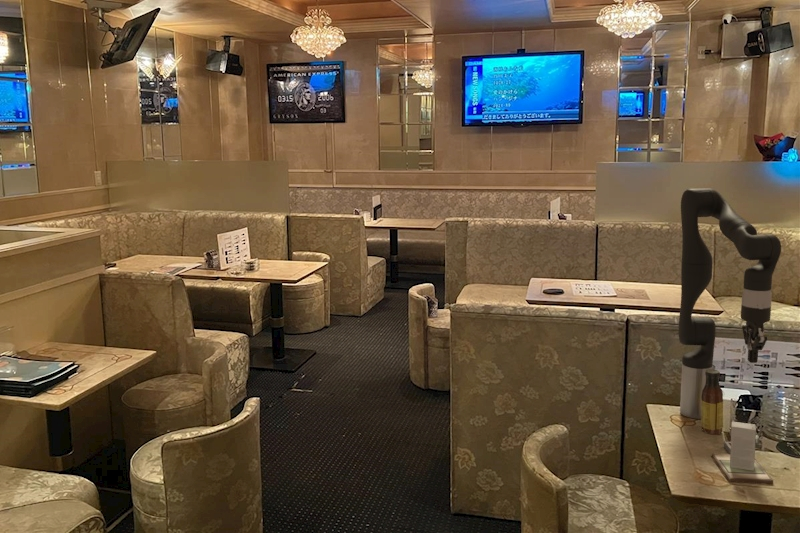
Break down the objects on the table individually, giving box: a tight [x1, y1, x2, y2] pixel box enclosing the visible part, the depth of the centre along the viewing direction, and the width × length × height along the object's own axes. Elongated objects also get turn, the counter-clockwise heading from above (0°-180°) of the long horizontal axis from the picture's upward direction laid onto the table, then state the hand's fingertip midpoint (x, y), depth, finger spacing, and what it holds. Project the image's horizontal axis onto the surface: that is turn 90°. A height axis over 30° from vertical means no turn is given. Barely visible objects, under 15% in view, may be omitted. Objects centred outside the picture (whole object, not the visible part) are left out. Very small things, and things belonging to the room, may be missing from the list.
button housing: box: [723, 441, 731, 454], centre depth 194 cm, size 6×6×2 cm
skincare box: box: [730, 421, 757, 471], centre depth 183 cm, size 6×4×12 cm
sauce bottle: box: [700, 368, 724, 435], centre depth 208 cm, size 7×6×20 cm
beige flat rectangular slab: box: [710, 453, 774, 485], centre depth 184 cm, size 15×11×1 cm
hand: (752, 361), depth 193 cm, fingers closed
